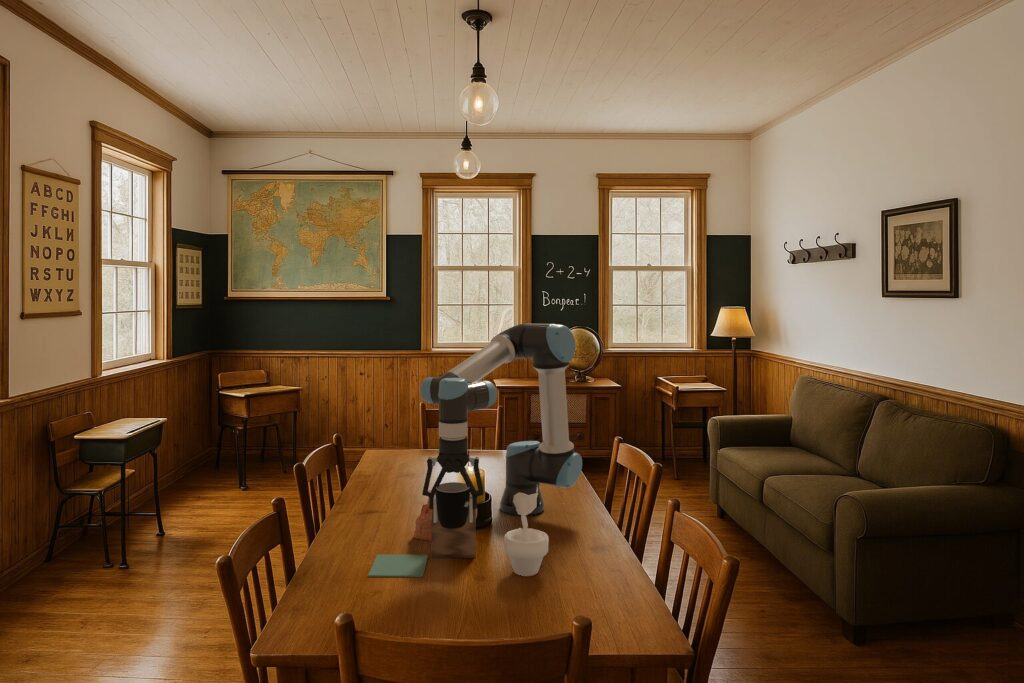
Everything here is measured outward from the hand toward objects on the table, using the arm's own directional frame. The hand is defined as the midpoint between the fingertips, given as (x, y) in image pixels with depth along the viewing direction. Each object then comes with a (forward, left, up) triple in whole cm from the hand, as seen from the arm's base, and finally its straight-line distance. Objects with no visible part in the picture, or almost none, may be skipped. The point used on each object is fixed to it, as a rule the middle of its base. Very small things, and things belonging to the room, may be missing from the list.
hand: (453, 520), depth 177 cm
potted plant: (-20, +2, -13) cm, 24 cm away
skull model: (+3, -23, -13) cm, 26 cm away
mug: (0, 0, -1) cm, 1 cm away
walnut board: (0, -9, -13) cm, 16 cm away
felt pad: (+14, -1, -13) cm, 19 cm away
